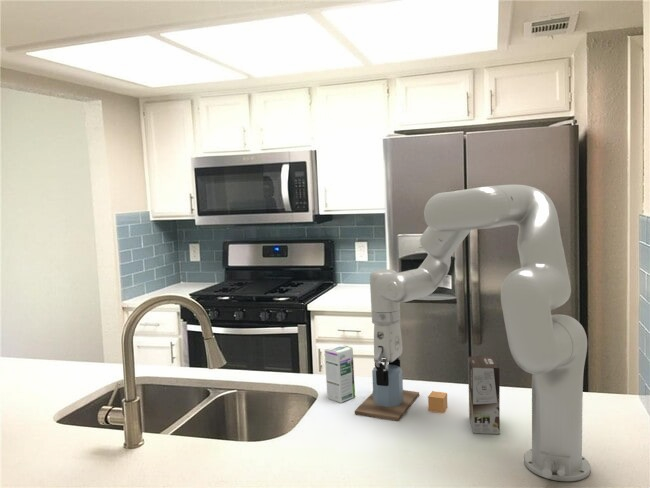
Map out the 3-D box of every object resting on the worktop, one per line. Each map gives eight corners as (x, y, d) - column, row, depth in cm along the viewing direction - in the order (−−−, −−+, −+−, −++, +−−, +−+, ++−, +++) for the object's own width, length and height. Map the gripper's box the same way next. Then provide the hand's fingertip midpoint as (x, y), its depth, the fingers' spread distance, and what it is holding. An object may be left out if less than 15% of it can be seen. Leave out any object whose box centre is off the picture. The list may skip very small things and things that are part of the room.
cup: (396, 408, 143) (395, 374, 142) (370, 404, 146) (369, 371, 145) (405, 398, 150) (404, 366, 149) (380, 394, 153) (379, 363, 152)
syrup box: (341, 403, 150) (338, 352, 149) (326, 398, 154) (324, 348, 153) (355, 397, 154) (353, 347, 152) (340, 392, 158) (338, 343, 157)
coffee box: (500, 434, 128) (500, 367, 126) (472, 433, 129) (471, 367, 127) (495, 418, 137) (494, 355, 135) (468, 417, 138) (467, 355, 136)
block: (443, 413, 141) (443, 398, 141) (428, 411, 143) (428, 396, 143) (447, 407, 145) (447, 392, 144) (432, 405, 147) (432, 391, 146)
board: (398, 421, 137) (398, 417, 137) (354, 414, 143) (354, 410, 143) (419, 395, 153) (419, 392, 153) (378, 390, 159) (378, 386, 159)
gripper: (388, 325, 136) (391, 391, 137) (409, 310, 151) (412, 370, 153) (360, 323, 139) (363, 388, 141) (383, 309, 155) (386, 368, 156)
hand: (388, 379), depth 147 cm, fingers open, 9 cm apart
